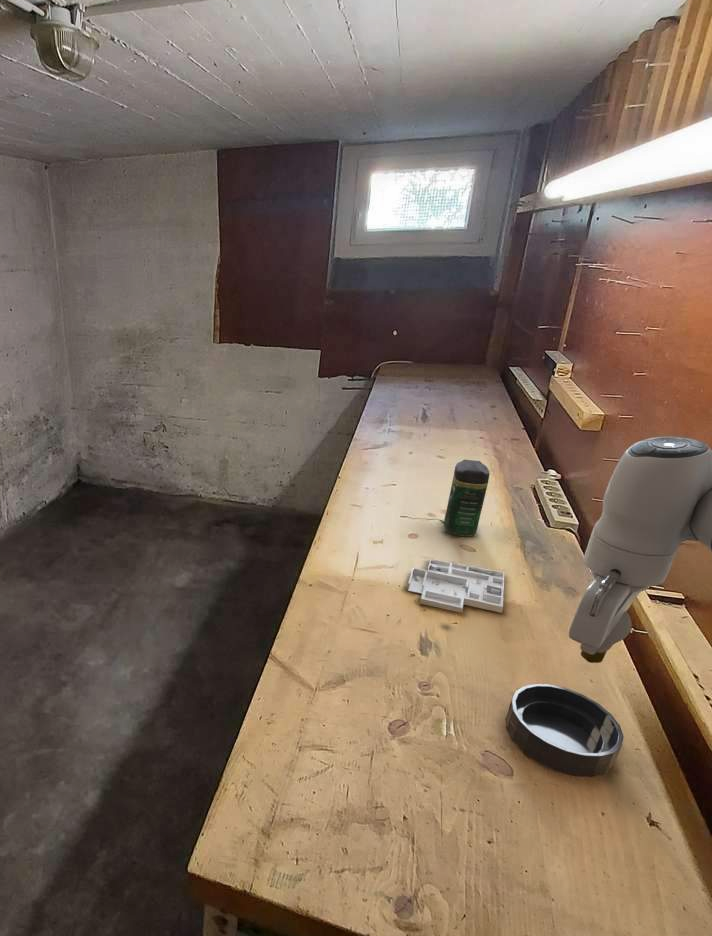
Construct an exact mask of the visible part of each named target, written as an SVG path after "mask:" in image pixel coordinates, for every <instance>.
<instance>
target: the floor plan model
mask: <svg viewBox="0 0 712 936" xmlns="http://www.w3.org/2000/svg"><path fill="white" fill-rule="evenodd" d="M406 591H409V592H413V593H418V594H421V596H420V602H419V603H420V604H421V605H425V606H430V607H434V608H439V609H443V610H447V611H452V612H456V613H460V614H462V613H463V610H464V609H463V608H464V605H465V606H470V607H473V608H477V609H482V610H487V611H492V612H496V613H500V614H502V613H503V610H504V592H505V571H504V572H503V571H498V570H493V569H488V568H483V567H479V566H478V567H477V566H475V565H474V566H473V565H469V564H459V563H455V562H450V561H446V560H445V561H444V560H439V559H435V558H430V559H429V563H428V568H427V569H423V568H419V567H418V568H417V567H412V569H411V571H410V575H409V579H408V582H407V588H406Z"/></svg>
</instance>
